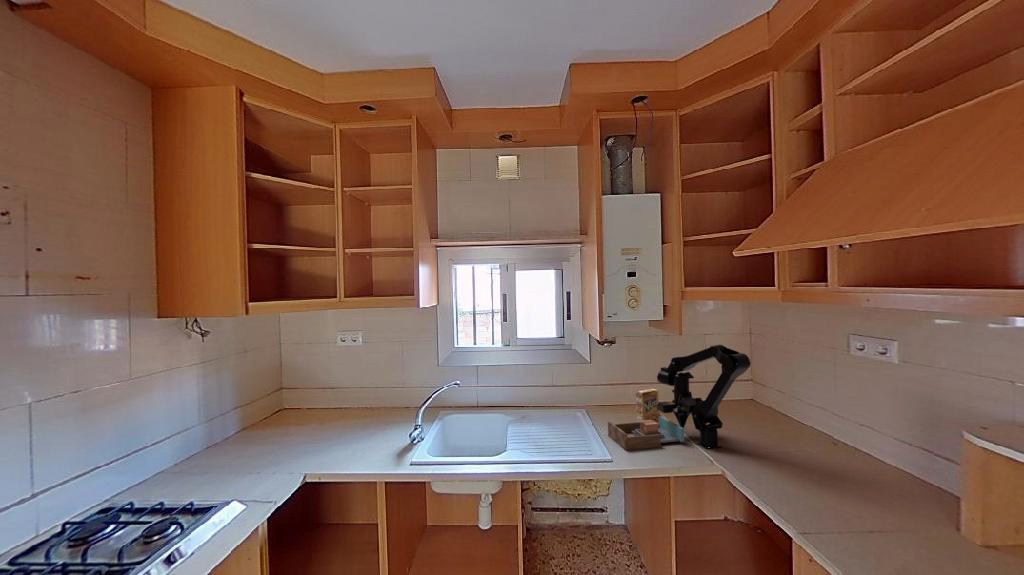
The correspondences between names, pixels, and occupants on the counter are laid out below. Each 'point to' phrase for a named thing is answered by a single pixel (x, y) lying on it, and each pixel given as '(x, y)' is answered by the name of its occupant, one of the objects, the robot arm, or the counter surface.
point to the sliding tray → (666, 431)
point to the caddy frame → (632, 436)
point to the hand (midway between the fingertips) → (682, 427)
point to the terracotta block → (648, 427)
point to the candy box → (647, 405)
